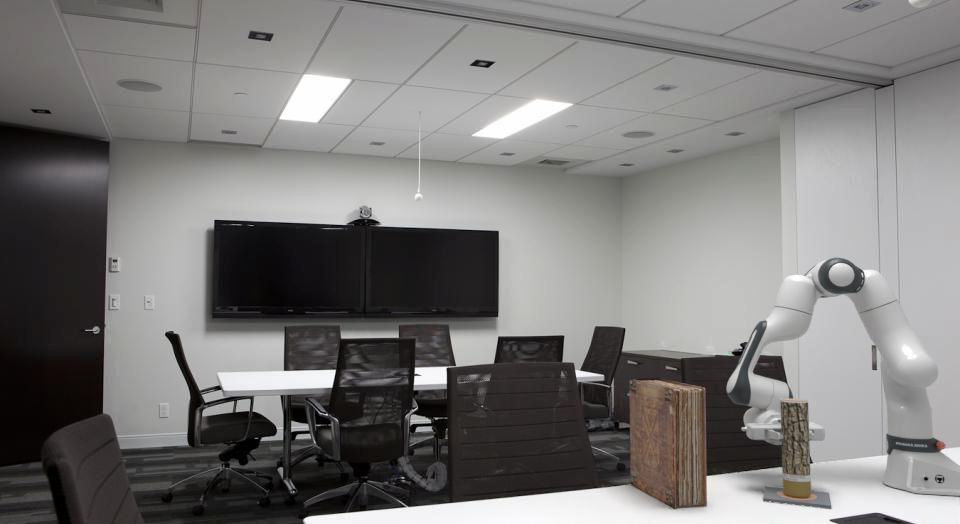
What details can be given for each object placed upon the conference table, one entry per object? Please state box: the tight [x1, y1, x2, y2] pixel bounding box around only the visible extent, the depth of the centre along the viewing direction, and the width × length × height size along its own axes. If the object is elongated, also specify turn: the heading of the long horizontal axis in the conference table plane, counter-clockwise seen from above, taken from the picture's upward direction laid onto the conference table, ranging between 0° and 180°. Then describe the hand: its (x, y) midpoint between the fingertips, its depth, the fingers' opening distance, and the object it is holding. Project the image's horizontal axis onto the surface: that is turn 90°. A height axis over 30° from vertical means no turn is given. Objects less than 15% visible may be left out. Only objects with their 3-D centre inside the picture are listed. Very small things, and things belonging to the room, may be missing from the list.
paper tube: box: [780, 398, 812, 498], centre depth 187 cm, size 7×7×25 cm
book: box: [628, 377, 708, 510], centre depth 189 cm, size 25×9×30 cm, turn 13°
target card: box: [762, 485, 832, 510], centre depth 186 cm, size 16×14×1 cm
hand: (796, 437), depth 186 cm, fingers closed on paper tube, 6 cm apart
